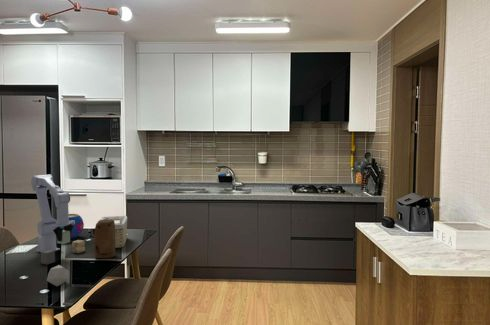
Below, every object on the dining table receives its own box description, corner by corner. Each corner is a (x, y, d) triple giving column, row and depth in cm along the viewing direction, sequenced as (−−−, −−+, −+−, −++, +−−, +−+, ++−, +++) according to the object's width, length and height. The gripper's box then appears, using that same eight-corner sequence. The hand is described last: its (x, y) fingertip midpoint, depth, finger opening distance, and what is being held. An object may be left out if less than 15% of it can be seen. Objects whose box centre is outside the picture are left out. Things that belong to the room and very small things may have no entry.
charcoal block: (41, 263, 187) (40, 252, 187) (48, 260, 192) (48, 249, 191) (47, 264, 186) (47, 253, 185) (55, 261, 190) (54, 250, 189)
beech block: (72, 252, 206) (72, 241, 206) (78, 250, 210) (78, 239, 210) (78, 253, 204) (78, 242, 204) (84, 250, 208) (84, 240, 208)
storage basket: (124, 248, 214) (124, 223, 213) (95, 250, 210) (94, 225, 209) (128, 237, 237) (128, 215, 236) (102, 239, 233) (101, 216, 232)
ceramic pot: (48, 239, 232) (47, 216, 231) (73, 233, 247) (73, 211, 246) (64, 243, 223) (63, 219, 222) (89, 237, 238) (89, 214, 237)
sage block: (57, 243, 196) (56, 232, 196) (64, 240, 200) (63, 230, 200) (63, 243, 194) (62, 232, 194) (70, 241, 199) (69, 230, 198)
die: (58, 280, 166) (43, 267, 161) (74, 271, 166) (60, 257, 161) (55, 293, 159) (39, 280, 154) (72, 283, 159) (57, 270, 154)
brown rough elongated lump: (116, 254, 202) (115, 218, 201) (114, 258, 195) (113, 221, 194) (95, 255, 200) (94, 219, 199) (93, 259, 193) (92, 222, 191)
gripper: (56, 218, 188) (57, 244, 189) (79, 213, 202) (79, 237, 203) (46, 217, 191) (47, 242, 192) (69, 212, 204) (70, 235, 205)
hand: (63, 239), depth 197 cm, fingers closed on sage block, 4 cm apart
